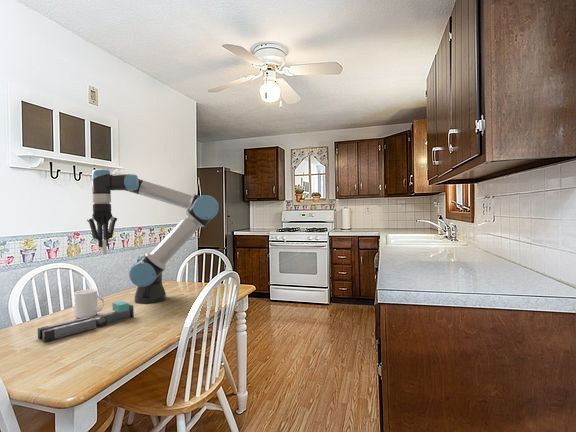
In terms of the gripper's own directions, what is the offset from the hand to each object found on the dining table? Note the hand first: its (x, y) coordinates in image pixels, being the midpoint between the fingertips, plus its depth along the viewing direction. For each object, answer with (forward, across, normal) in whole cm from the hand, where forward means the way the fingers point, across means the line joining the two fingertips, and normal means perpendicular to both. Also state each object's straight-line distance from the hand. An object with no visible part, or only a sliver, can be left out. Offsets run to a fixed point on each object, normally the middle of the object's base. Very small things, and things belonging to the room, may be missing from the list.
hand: (103, 253), depth 159 cm
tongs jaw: (+26, +24, +22) cm, 41 cm away
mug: (+26, +8, +3) cm, 28 cm away
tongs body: (+26, +15, +19) cm, 36 cm away
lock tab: (+22, +3, +21) cm, 31 cm away
